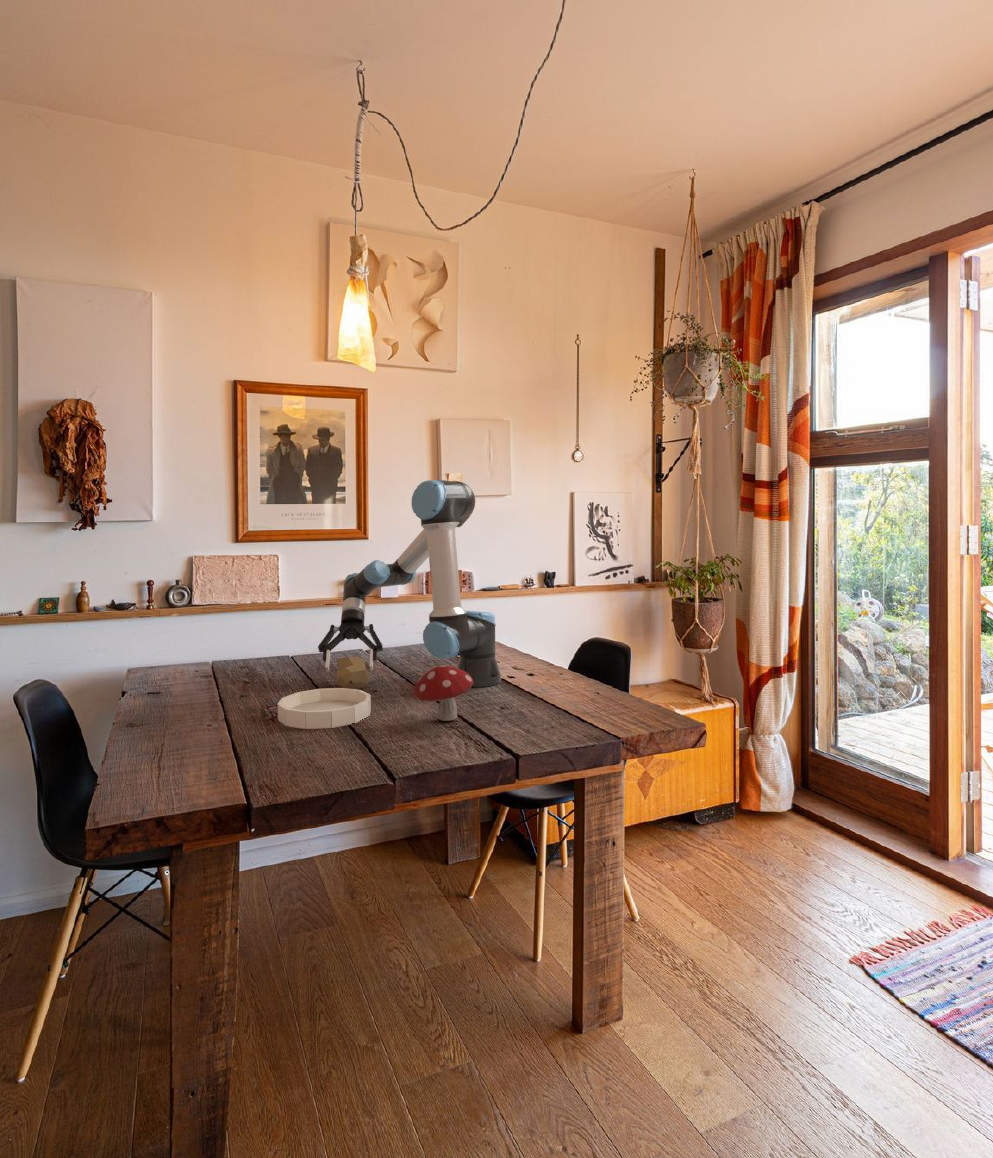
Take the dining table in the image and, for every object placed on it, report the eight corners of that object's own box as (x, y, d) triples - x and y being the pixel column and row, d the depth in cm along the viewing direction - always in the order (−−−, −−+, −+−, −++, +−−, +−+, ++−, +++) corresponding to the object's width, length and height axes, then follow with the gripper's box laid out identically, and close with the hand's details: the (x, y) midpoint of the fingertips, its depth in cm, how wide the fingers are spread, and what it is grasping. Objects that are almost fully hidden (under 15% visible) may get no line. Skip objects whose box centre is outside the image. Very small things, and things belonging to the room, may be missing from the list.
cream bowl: (373, 701, 202) (373, 686, 201) (366, 726, 178) (365, 709, 177) (289, 704, 199) (288, 689, 199) (270, 730, 175) (269, 713, 175)
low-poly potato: (355, 682, 227) (323, 670, 221) (371, 654, 225) (340, 641, 220) (363, 705, 214) (330, 693, 208) (381, 676, 212) (348, 663, 207)
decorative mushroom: (472, 730, 174) (472, 672, 172) (409, 731, 174) (408, 672, 172) (475, 712, 190) (474, 658, 188) (417, 712, 190) (416, 659, 188)
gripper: (391, 620, 234) (390, 674, 220) (316, 621, 231) (310, 676, 218) (390, 607, 228) (388, 661, 215) (313, 608, 226) (306, 663, 212)
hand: (349, 669), depth 216 cm, fingers open, 13 cm apart
